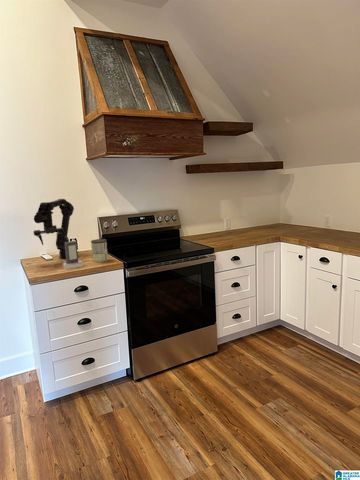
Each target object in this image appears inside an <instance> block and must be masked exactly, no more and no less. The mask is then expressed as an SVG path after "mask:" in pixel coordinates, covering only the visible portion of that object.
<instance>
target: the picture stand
mask: <svg viewBox="0 0 360 480" xmlns="http://www.w3.org/2000/svg"><path fill="white" fill-rule="evenodd" d="M62 265H63V266H62V267H63V268H64V269H65V270H68V269H69V270H70V269H76V268H83V267H84V262H83V261H81V259H80V258H78V263H71V264H66V260H65V261H62Z"/></svg>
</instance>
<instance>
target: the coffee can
mask: <svg viewBox="0 0 360 480" xmlns="http://www.w3.org/2000/svg"><path fill="white" fill-rule="evenodd" d="M90 244H91V253H92V262H93V263H104V261H105V262H107V261H108V260H109V256H108V254H109V253H108V247H107V246H108V243H107V239H105V238H97V239H92V240H90Z"/></svg>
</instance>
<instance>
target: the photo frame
mask: <svg viewBox="0 0 360 480" xmlns="http://www.w3.org/2000/svg"><path fill="white" fill-rule="evenodd" d="M64 245H65V254H66V258H65V261H66V264H71V263H78V260H79V255H78V253H79V252H78V244H77V241H76V240H71V241H70V240H69V242H64Z"/></svg>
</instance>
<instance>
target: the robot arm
mask: <svg viewBox="0 0 360 480" xmlns="http://www.w3.org/2000/svg"><path fill="white" fill-rule="evenodd" d="M57 207H58V208H59V209H60V213H61V215H62V217H61V226H60V227H58V228H57V225H55V224H53V217H52V216H53V214H54V212H53V210H54V208H57ZM74 209H75V208H74V206H73V204H72V203H71V202H69V201H67V200H66V199H64V198H58V199H56V200H53V201H47V202H46V201H45V202H40V204H39V207H38V209H37V212H35V215H34V216H33V221H34V223H36V224H41V223H42V224H43V230H40V229H38V230H37V229H35V230H34V229H33V235H34V236H36V238H37V237H38V238H39V240H40V242H41V245H42V246H44V241H43V237H42V235H43V234H46V235H49V234H54V233H56V237H55V238H56V240H55V247H56V248H57V250H59V252H58V254H59V257H58V258H60V259H62V260H64V259H66V254H65V245H64V242H70V240H69V236H68V233H69V225H70V220H71V216H72V215H73V213H74Z"/></svg>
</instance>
